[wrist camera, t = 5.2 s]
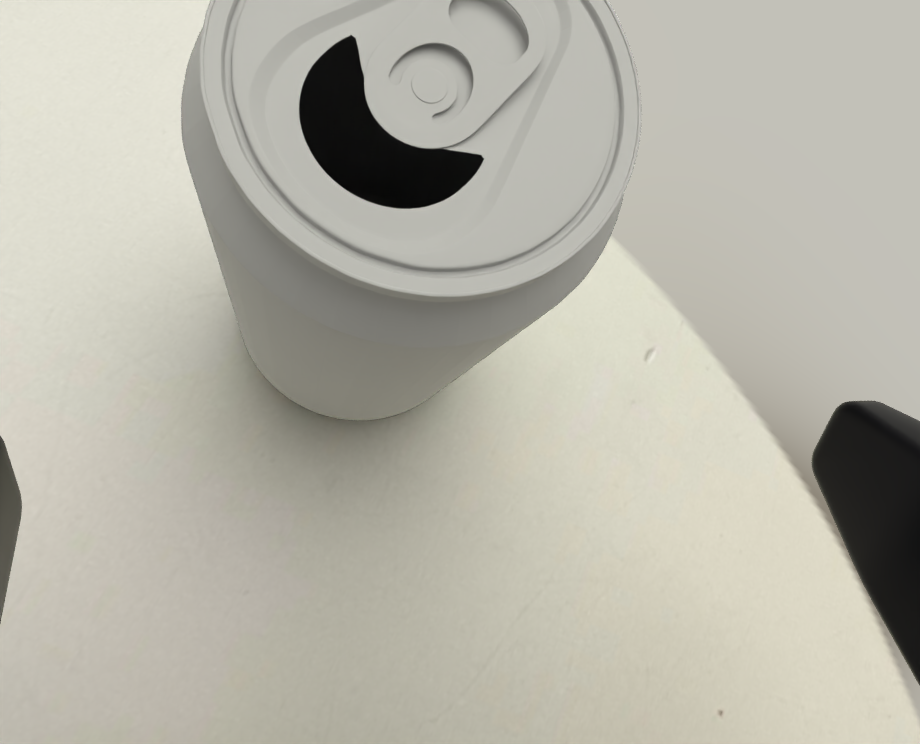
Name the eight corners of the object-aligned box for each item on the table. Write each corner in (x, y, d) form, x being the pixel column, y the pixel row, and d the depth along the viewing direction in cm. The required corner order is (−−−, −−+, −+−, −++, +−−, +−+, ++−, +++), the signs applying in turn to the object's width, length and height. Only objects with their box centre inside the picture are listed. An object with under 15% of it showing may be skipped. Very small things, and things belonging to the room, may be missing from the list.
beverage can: (186, 313, 20) (32, 54, 8) (350, 156, 21) (414, -241, 10) (365, 472, 20) (460, 440, 8) (512, 306, 22) (759, 91, 10)
